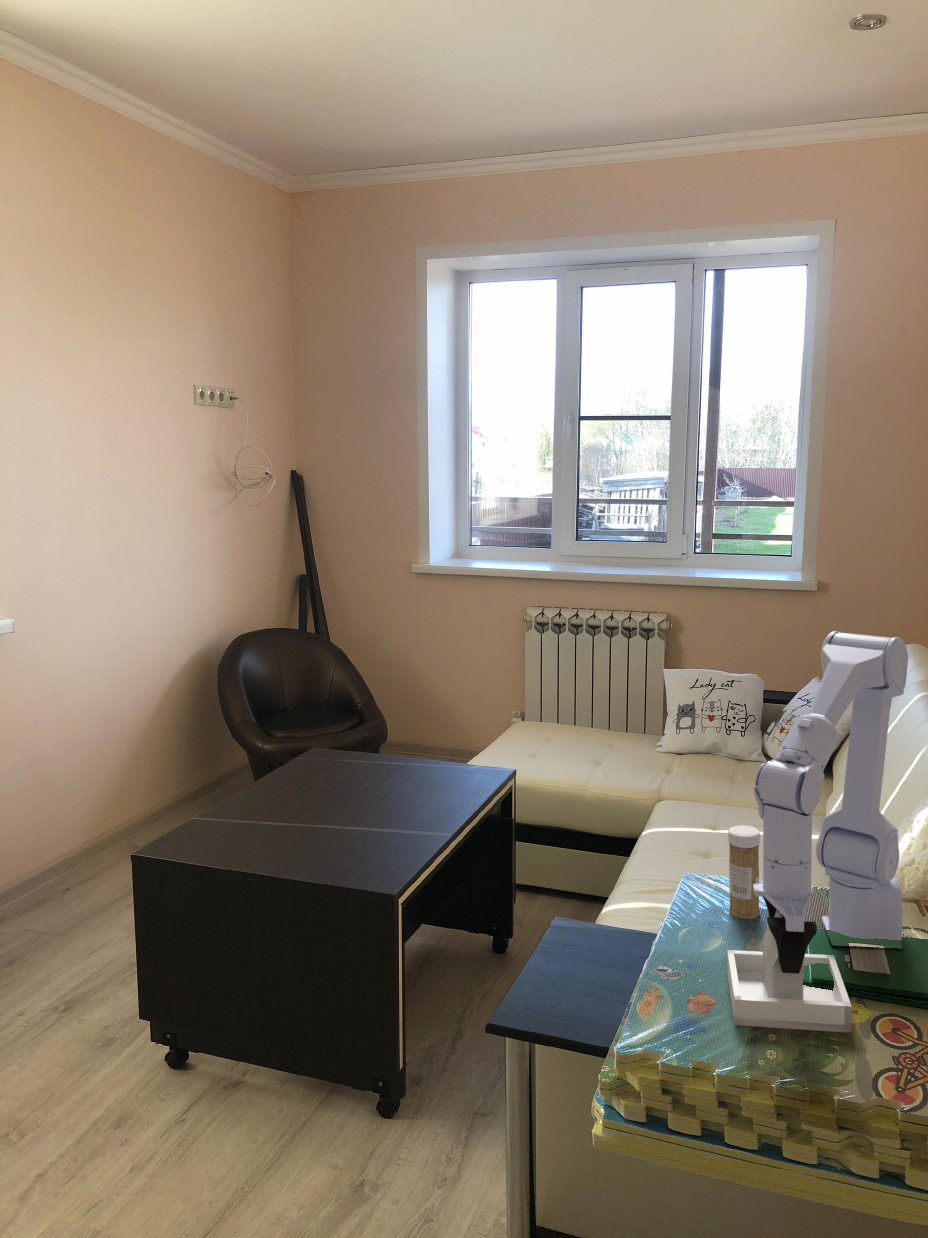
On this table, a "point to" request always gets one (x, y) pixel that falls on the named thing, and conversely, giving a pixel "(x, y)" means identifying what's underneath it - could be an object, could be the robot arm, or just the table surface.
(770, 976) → the white gable-top carton
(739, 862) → the sprinkles bottle
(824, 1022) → the bin
